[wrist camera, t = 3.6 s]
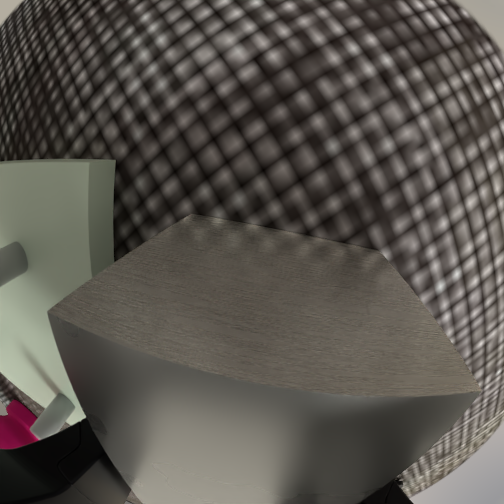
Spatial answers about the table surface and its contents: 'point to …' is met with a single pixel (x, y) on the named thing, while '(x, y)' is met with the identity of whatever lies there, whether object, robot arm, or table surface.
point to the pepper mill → (16, 426)
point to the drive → (258, 367)
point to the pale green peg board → (48, 269)
